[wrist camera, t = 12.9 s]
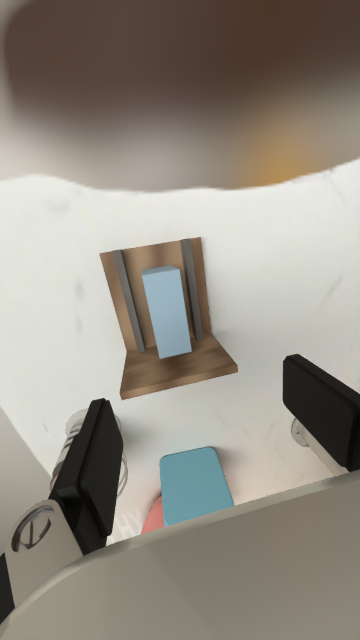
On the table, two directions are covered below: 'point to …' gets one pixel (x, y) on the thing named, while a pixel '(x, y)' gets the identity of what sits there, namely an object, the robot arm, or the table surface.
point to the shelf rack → (136, 326)
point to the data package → (192, 485)
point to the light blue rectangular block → (167, 310)
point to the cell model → (154, 517)
